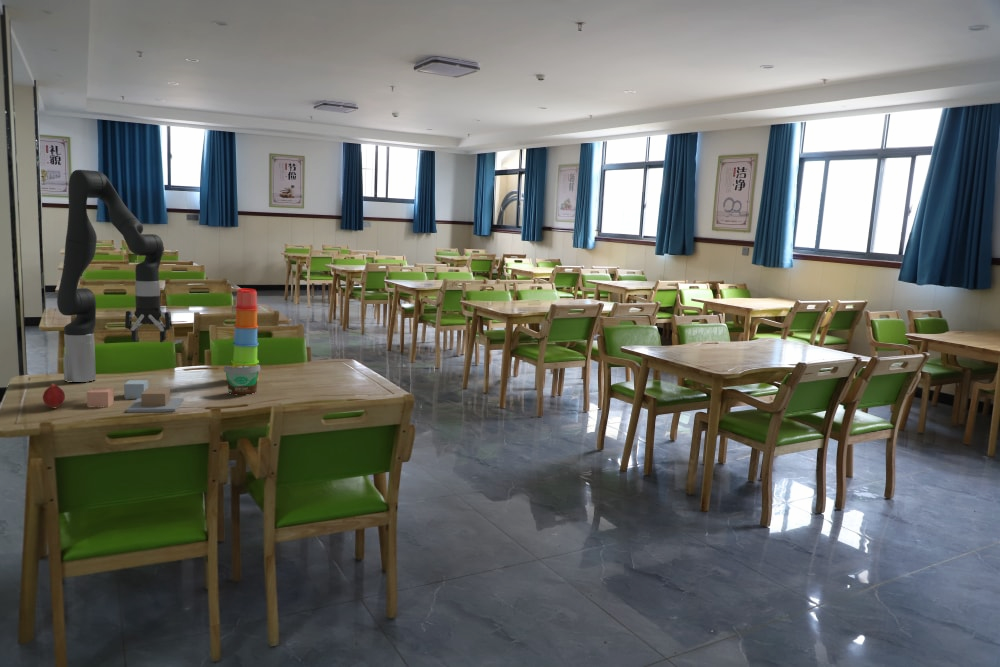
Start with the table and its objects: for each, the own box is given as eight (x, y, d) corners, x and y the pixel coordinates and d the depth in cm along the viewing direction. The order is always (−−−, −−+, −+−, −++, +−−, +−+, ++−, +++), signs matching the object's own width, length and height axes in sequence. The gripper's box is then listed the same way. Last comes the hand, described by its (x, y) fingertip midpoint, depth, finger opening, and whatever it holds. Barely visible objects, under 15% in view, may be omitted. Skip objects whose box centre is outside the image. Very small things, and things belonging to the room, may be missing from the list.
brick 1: (87, 407, 231) (86, 392, 230) (93, 403, 237) (92, 387, 236) (108, 407, 232) (107, 392, 232) (113, 402, 238) (113, 387, 237)
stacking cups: (258, 376, 284) (258, 287, 278) (259, 382, 274) (258, 290, 269) (230, 377, 280) (229, 287, 275) (229, 383, 271) (228, 290, 266)
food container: (226, 397, 251) (225, 368, 249) (223, 393, 256) (223, 365, 255) (263, 394, 257) (263, 366, 255) (260, 390, 262) (260, 363, 261)
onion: (49, 405, 230) (48, 381, 229) (68, 406, 231) (67, 381, 230) (39, 410, 225) (38, 385, 224) (59, 411, 225) (58, 385, 224)
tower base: (126, 412, 227) (126, 396, 226) (137, 401, 241) (137, 386, 240) (175, 411, 230) (174, 396, 230) (183, 400, 244) (183, 386, 243)
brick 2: (124, 398, 243) (124, 384, 243) (129, 394, 249) (128, 380, 248) (144, 398, 245) (143, 384, 244) (148, 394, 250) (148, 380, 250)
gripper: (121, 294, 242) (122, 343, 244) (166, 295, 244) (167, 344, 246) (129, 292, 249) (131, 339, 252) (173, 293, 251) (174, 340, 253)
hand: (149, 341), depth 249 cm, fingers open, 8 cm apart
